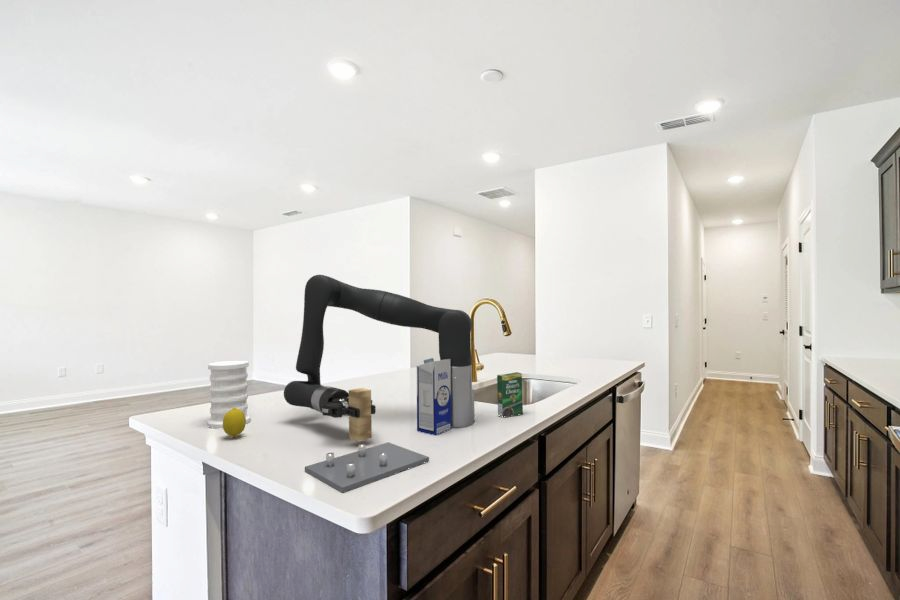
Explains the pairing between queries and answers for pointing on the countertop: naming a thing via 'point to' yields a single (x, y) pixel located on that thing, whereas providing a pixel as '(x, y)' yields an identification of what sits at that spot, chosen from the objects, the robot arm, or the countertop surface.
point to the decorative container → (227, 390)
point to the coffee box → (510, 394)
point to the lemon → (234, 422)
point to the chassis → (364, 465)
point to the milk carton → (434, 396)
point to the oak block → (361, 425)
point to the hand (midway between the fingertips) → (366, 411)
